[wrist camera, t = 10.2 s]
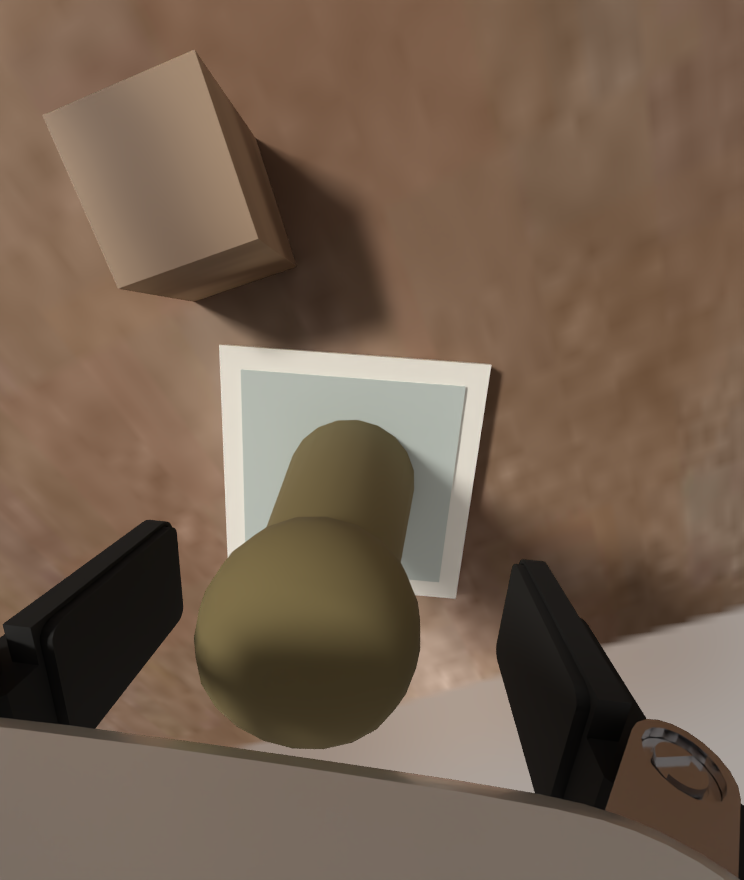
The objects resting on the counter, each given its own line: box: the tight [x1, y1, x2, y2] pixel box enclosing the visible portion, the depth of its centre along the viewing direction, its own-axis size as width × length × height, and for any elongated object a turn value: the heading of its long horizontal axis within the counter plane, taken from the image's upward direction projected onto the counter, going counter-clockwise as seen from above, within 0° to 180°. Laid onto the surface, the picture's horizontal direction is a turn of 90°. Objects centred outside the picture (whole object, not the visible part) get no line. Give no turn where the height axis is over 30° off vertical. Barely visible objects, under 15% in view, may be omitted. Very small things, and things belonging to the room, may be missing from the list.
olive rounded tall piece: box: [194, 420, 420, 749], centre depth 13 cm, size 6×6×11 cm
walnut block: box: [42, 50, 297, 302], centre depth 14 cm, size 5×5×5 cm
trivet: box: [219, 344, 491, 599], centre depth 18 cm, size 12×12×1 cm
